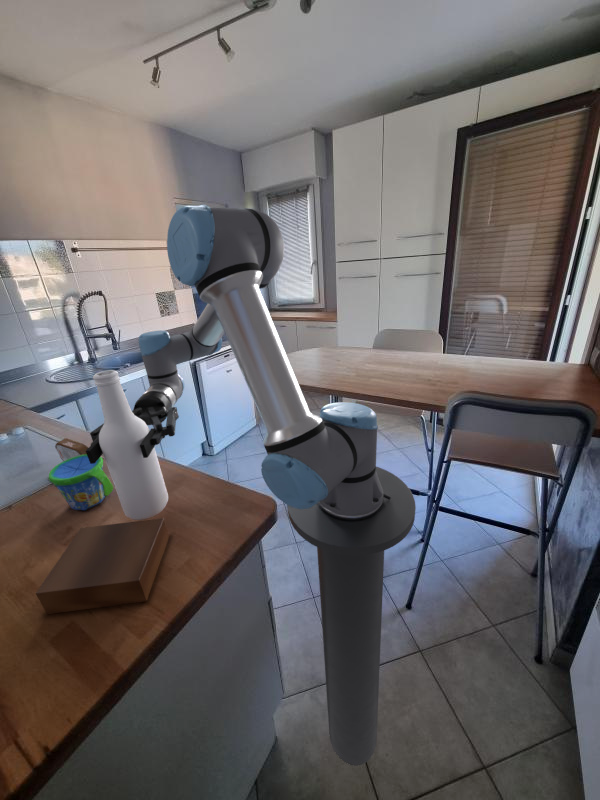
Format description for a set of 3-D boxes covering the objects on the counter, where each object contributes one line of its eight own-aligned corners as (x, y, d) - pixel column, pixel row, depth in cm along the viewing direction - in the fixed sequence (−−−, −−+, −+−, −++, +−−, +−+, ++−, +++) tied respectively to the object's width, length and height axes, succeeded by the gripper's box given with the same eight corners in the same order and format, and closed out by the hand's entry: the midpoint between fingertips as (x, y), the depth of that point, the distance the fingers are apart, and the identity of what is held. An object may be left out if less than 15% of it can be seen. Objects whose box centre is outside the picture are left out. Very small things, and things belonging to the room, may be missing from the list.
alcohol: (138, 528, 65) (89, 385, 53) (117, 511, 70) (67, 377, 58) (177, 502, 71) (141, 369, 60) (155, 488, 76) (117, 363, 65)
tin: (102, 470, 92) (92, 444, 89) (91, 477, 90) (81, 450, 87) (71, 459, 99) (61, 434, 96) (60, 465, 97) (49, 440, 93)
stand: (169, 536, 68) (163, 517, 66) (146, 601, 55) (139, 580, 53) (88, 546, 67) (80, 527, 65) (46, 614, 54) (35, 593, 52)
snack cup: (130, 494, 82) (119, 459, 78) (91, 524, 73) (76, 486, 69) (88, 482, 88) (75, 448, 84) (47, 508, 79) (30, 472, 75)
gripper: (203, 414, 83) (181, 465, 62) (114, 423, 82) (62, 478, 61) (197, 386, 80) (172, 429, 59) (105, 395, 79) (47, 442, 58)
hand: (117, 454), depth 60 cm, fingers closed on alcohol, 9 cm apart
